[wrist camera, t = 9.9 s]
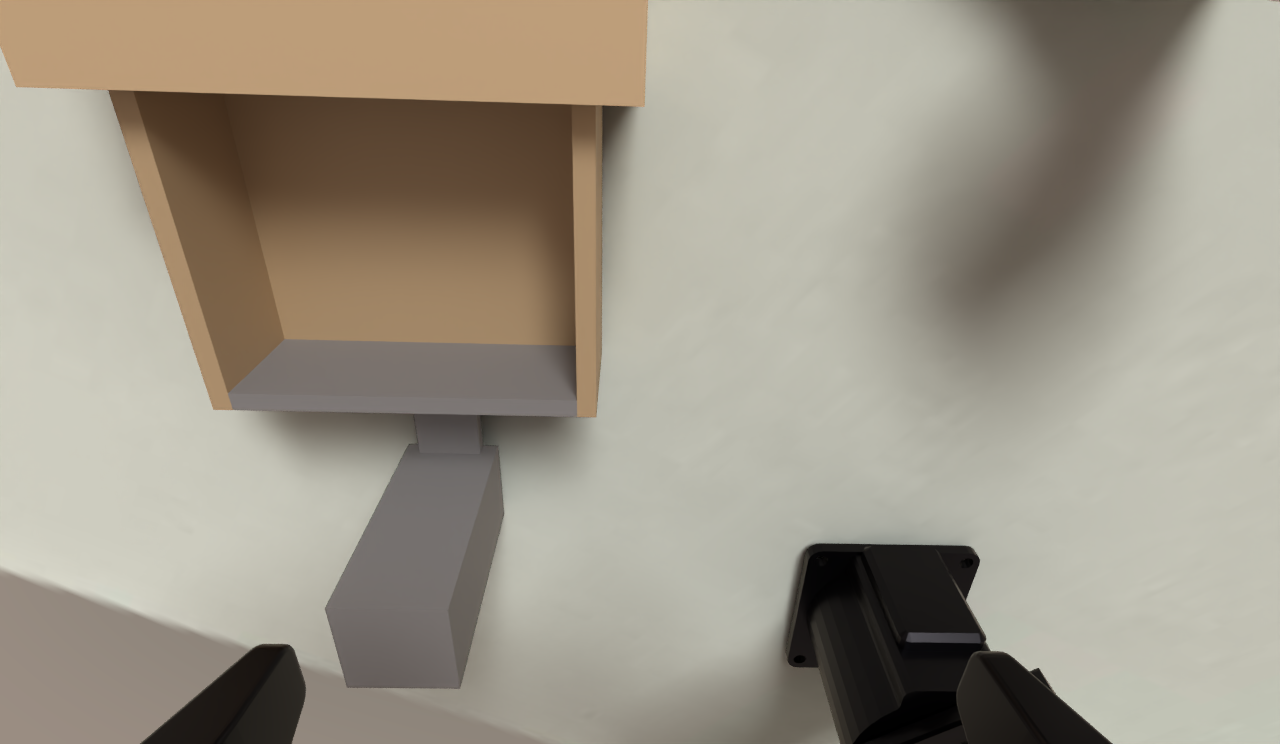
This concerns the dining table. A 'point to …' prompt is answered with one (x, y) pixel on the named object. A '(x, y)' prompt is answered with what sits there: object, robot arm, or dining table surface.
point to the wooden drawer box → (336, 48)
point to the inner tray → (387, 310)
